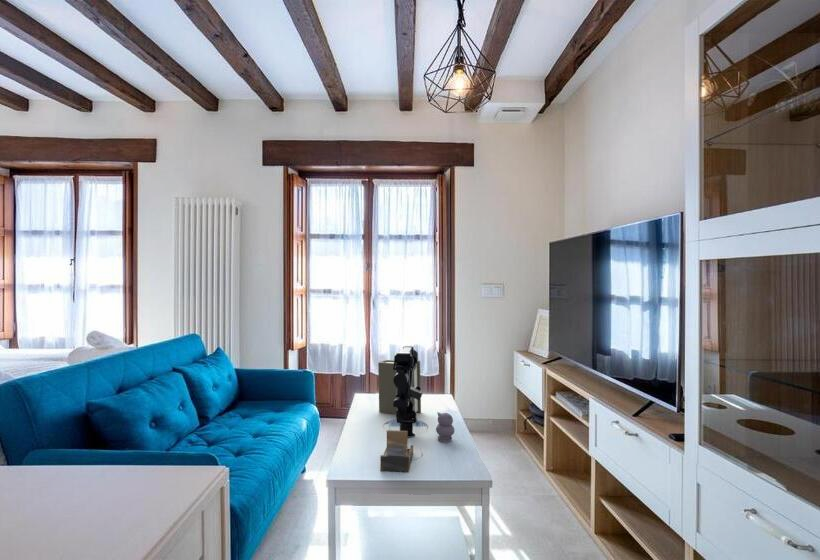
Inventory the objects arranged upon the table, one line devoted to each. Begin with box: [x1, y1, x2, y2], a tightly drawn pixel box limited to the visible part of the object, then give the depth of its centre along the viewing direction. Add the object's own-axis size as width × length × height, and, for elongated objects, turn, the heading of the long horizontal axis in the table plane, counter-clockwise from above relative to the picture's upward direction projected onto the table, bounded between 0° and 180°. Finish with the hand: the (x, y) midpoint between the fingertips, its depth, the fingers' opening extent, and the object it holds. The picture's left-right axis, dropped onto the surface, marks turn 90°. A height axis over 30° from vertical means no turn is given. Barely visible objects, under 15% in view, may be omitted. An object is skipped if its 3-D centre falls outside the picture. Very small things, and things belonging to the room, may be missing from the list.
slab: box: [385, 429, 408, 457], centre depth 158 cm, size 6×8×10 cm
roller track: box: [379, 444, 414, 474], centre depth 162 cm, size 17×11×6 cm, turn 174°
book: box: [377, 359, 422, 415], centre depth 224 cm, size 22×9×28 cm, turn 65°
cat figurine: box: [435, 411, 455, 444], centre depth 184 cm, size 8×8×12 cm
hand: (403, 417), depth 178 cm, fingers closed
